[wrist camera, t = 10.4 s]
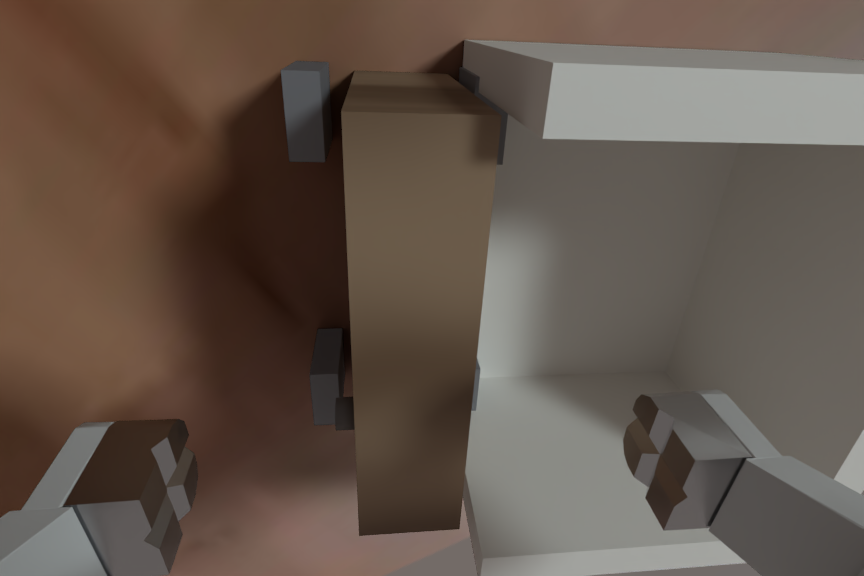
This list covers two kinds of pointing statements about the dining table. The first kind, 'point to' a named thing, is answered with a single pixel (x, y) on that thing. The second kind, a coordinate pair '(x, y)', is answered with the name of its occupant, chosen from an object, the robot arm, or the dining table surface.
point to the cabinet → (644, 281)
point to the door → (414, 289)
